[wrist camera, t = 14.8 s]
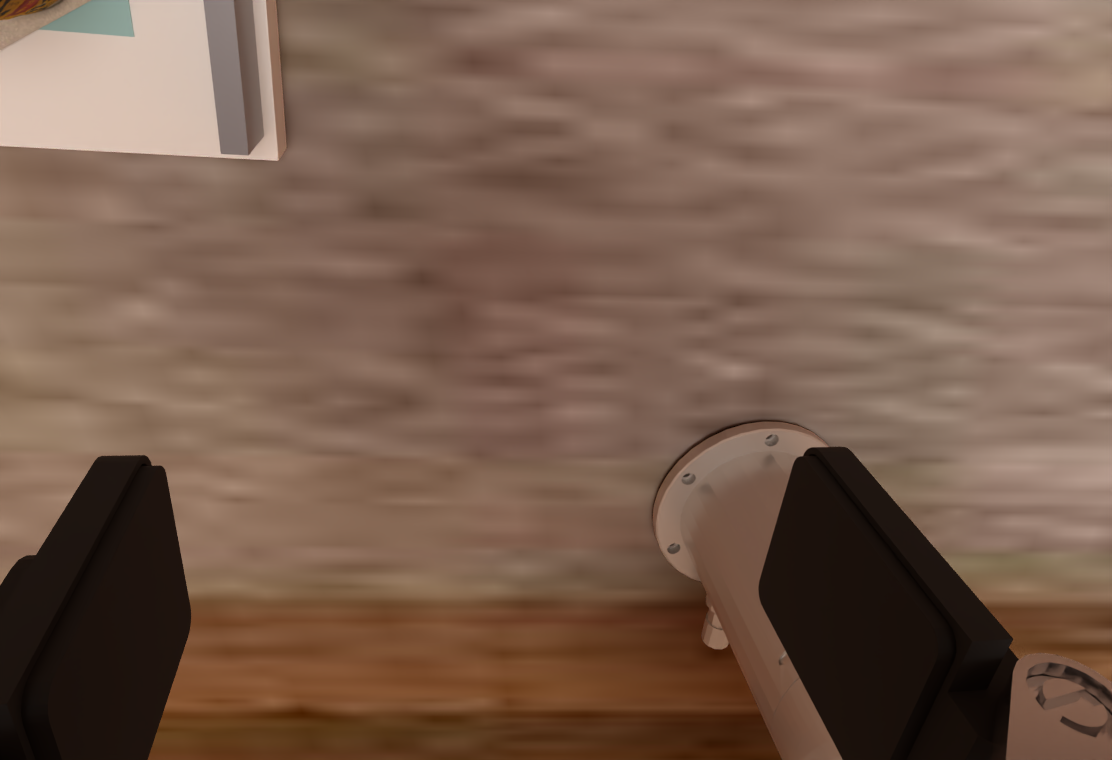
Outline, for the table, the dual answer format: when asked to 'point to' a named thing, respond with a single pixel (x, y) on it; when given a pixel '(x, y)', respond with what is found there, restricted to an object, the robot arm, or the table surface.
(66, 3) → the condiment
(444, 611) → the table surface
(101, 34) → the dock
